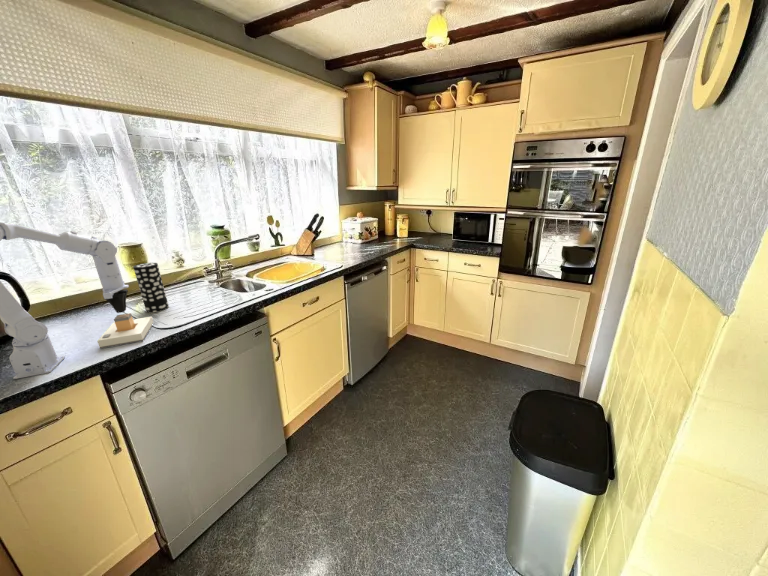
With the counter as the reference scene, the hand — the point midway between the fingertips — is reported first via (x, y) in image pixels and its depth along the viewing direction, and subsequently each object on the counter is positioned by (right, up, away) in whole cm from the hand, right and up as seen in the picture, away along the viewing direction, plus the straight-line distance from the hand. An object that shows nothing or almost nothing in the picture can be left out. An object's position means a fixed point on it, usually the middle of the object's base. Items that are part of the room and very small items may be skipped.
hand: (121, 311), depth 109 cm
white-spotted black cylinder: (-7, -1, +27) cm, 28 cm away
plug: (0, -8, +3) cm, 9 cm away
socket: (0, -9, +3) cm, 9 cm away
